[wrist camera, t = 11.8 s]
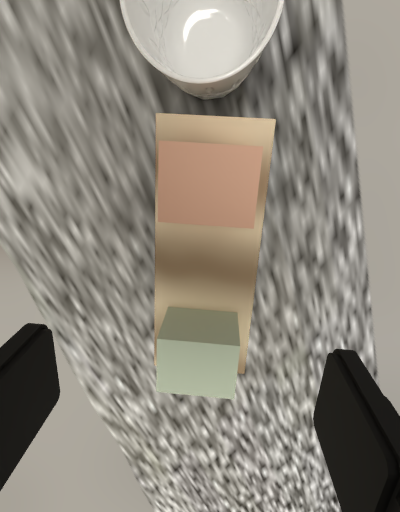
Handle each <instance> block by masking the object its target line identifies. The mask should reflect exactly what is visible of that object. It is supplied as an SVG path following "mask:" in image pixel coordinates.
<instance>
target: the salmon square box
mask: <svg viewBox="0 0 400 512" xmlns="http://www.w3.org/2000/svg"><path fill="white" fill-rule="evenodd" d="M262 154H263V146H246V145H228V144H211V143H194V142H177V141H159V155H158V222H166V223H180V224H194V225H208V226H222V227H236V228H250V229H254V222H255V214H256V205H257V196H258V188H259V179H260V171H261V162H262Z"/></svg>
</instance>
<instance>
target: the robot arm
mask: <svg viewBox="0 0 400 512" xmlns="http://www.w3.org/2000/svg"><path fill="white" fill-rule="evenodd" d="M59 395H60V387H59V379H58V372H57V365H56V357H55V350H54V342H53V335H52V331H51V330H50V329H48V327H47V326H46V325H44V324H33V323H28V324H26V325H24V326H23V327H22V328H21V329H20V330H19V331H18V332H17V333H16V334H15V335H14V336H12V337H11V338H10V339H9V340H8V341H7V342H6V343H5V344H4V345H3V346H2V347H1V348H0V491H1V489H2V488H3V486H4V484H5V483H6V481H7V480H8V478H9V476H10V475H11V473H12V472H13V470H14V469H15V467H16V466H17V464H18V463H19V461H20V459H21V458H22V456H23V455H24V453H25V452H26V450H27V448H28V447H29V445H30V444H31V442H32V441H33V439H34V438H35V436H36V434H37V433H38V431H39V430H40V428H41V427H42V425H43V423H44V422H45V420H46V418H47V417H48V415H49V414H50V412H51V411H52V409H53V408H54V406H55V405H56V403H57V401H58V399H59ZM313 420H314V426H315V430H316V433H317V436H318V439H319V442H320V445H321V448H322V451H323V454H324V457H325V460H326V463H327V467H328V470H329V473H330V476H331V479H332V482H333V485H334V488H335V491H336V494H337V497H338V500H339V503H340V506H341V510H342V512H400V416H399V415H398V413H397V411H396V410H395V408H394V407H393V406H392V404H391V402H390V401H389V400H388V399H387V397H385V396H384V395H383V394H382V392H381V390H380V389H379V387H378V386H377V384H376V383H375V381H374V380H373V378H372V376H371V375H370V373H369V372H368V370H367V369H366V367H365V365H364V364H363V362H362V361H361V359H360V358H359V356H358V355H357V353H356V352H355V351H353V350H344V349H335V350H334V351H333V353H329V354H328V356H327V360H326V364H325V368H324V373H323V377H322V381H321V385H320V390H319V394H318V398H317V402H316V406H315V411H314V416H313Z"/></svg>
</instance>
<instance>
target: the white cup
mask: <svg viewBox="0 0 400 512" xmlns="http://www.w3.org/2000/svg"><path fill="white" fill-rule="evenodd" d="M283 4H284V0H120V6H121V11H122V15H123V18H124V21H125V24H126V27H127V30H128V32H129V34H130V36H131V38H132V40H133V42H134V43H135V45H136V47H137V48H138V49H139V51H140V52H141V54H142V55H143V56H144V57H145V58H146V59H147V60H148V61H149V62H150V63H151V64H152V65H153V66H154V67H155V68H156V69H157V70H159V71H160V72H161V73H162V74H163V75H164V76H165V77H166V78H167V79H168V80H170V81H171V82H172V83H173V84H175V85H176V86H177V87H179V88H180V89H182V90H183V91H185V92H186V93H188V94H191V95H193V96H195V97H198V98H200V99H203V100H207V99H215V98H223V97H224V96H226V95H227V94H229V93H230V92H232V91H233V90H235V89H236V88H238V87H239V86H240V85H241V83H242V81H243V80H244V79H245V78H246V77H247V76H248V74H249V73H250V71H251V70H252V69H253V67H254V66H255V64H256V63H257V61H258V59H259V58H260V56H261V54H262V52H263V50H264V48H265V47H266V45H267V43H268V41H269V40H270V38H271V36H272V34H273V32H274V30H275V28H276V26H277V23H278V21H279V18H280V15H281V12H282V8H283Z"/></svg>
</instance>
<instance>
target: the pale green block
mask: <svg viewBox="0 0 400 512" xmlns="http://www.w3.org/2000/svg"><path fill="white" fill-rule="evenodd" d="M239 353H240V337H239V325H238V313H237V312H226V311H214V310H202V309H190V308H178V307H168V309H167V312H166V314H165V317H164V320H163V323H162V326H161V329H160V331H159V334H158V337H157V383H156V392H164V393H174V394H184V395H195V396H205V397H215V398H225V399H234V397H235V388H236V379H237V370H238V362H239Z"/></svg>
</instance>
